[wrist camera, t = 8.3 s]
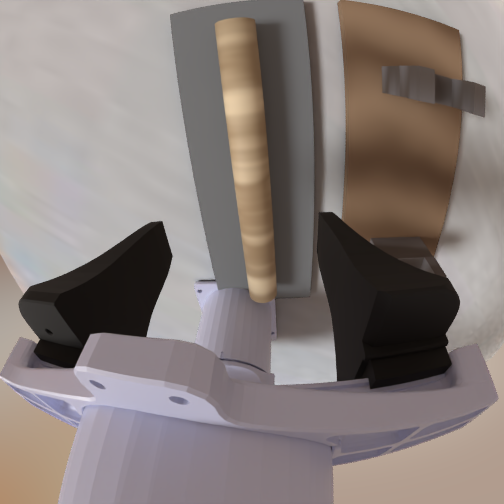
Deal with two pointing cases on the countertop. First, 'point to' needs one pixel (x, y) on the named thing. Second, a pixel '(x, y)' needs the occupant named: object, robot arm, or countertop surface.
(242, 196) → the rail
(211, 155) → the mat
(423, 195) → the hook stand
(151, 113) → the countertop surface
